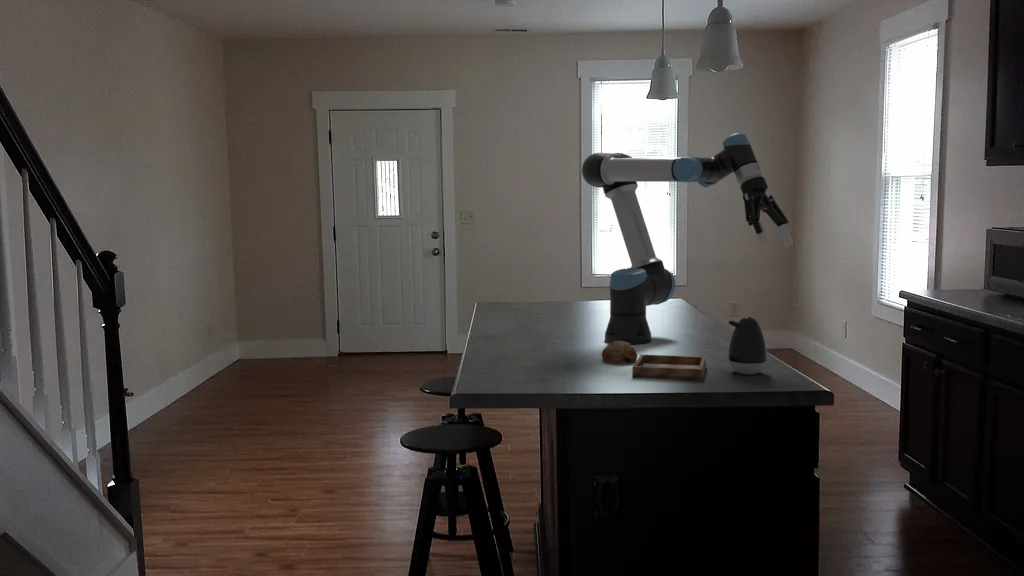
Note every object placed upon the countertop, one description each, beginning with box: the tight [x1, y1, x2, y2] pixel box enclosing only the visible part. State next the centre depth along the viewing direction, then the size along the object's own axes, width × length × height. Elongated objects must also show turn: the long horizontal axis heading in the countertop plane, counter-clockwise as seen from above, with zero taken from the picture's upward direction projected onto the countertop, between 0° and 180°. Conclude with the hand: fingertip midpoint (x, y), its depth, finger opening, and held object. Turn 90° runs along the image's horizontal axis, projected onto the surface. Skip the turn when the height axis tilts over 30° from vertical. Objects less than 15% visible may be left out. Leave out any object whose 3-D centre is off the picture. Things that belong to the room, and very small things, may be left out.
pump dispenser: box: [727, 316, 768, 376], centre depth 237 cm, size 10×10×15 cm
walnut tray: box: [632, 353, 707, 382], centre depth 239 cm, size 18×18×3 cm
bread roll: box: [601, 341, 638, 366], centre depth 255 cm, size 10×10×8 cm
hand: (777, 244), depth 261 cm, fingers open, 13 cm apart
